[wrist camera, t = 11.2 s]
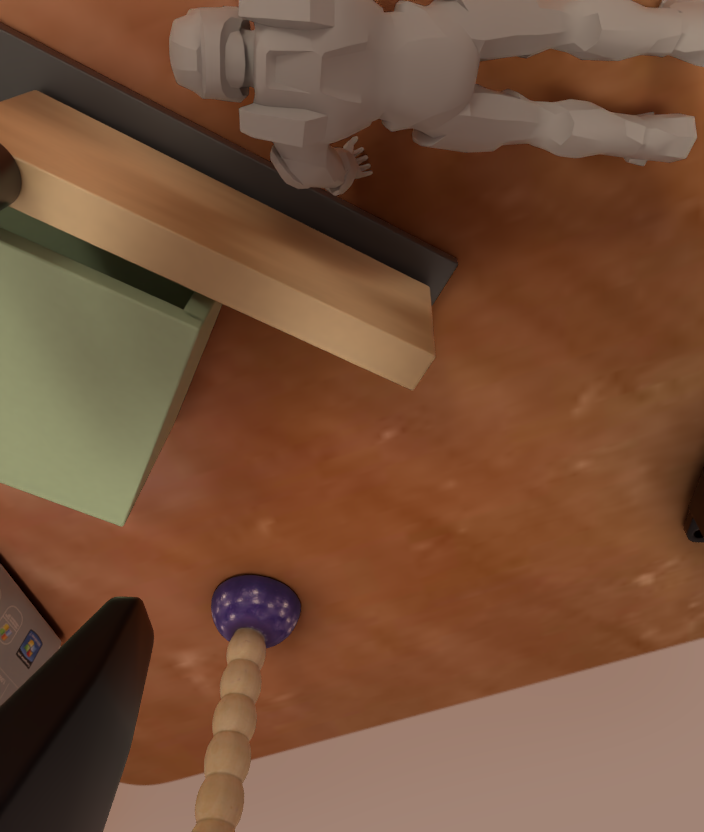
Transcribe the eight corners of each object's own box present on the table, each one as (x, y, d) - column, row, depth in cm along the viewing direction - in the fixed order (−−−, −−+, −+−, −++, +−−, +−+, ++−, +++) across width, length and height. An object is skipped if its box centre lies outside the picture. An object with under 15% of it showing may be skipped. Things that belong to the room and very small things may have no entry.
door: (433, 280, 19) (459, 526, 11) (407, 322, 20) (412, 579, 12) (36, 80, 16) (-334, 200, 8) (26, 139, 17) (-316, 300, 9)
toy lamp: (309, 575, 28) (228, 1125, 15) (315, 637, 31) (251, 1149, 18) (206, 572, 29) (35, 1108, 15) (221, 633, 32) (88, 1134, 18)
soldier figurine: (631, -78, 16) (143, -157, 13) (804, -79, 12) (160, -196, 9) (558, 174, 20) (167, 167, 16) (673, 238, 16) (186, 246, 12)
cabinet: (457, 258, 19) (474, 346, 15) (317, 480, 25) (299, 592, 21) (-257, -111, 15) (-534, -143, 11) (-228, 258, 21) (-399, 339, 16)
